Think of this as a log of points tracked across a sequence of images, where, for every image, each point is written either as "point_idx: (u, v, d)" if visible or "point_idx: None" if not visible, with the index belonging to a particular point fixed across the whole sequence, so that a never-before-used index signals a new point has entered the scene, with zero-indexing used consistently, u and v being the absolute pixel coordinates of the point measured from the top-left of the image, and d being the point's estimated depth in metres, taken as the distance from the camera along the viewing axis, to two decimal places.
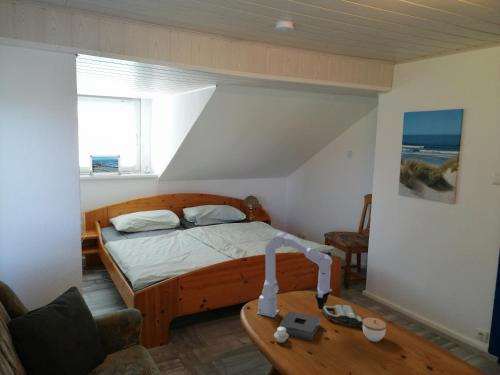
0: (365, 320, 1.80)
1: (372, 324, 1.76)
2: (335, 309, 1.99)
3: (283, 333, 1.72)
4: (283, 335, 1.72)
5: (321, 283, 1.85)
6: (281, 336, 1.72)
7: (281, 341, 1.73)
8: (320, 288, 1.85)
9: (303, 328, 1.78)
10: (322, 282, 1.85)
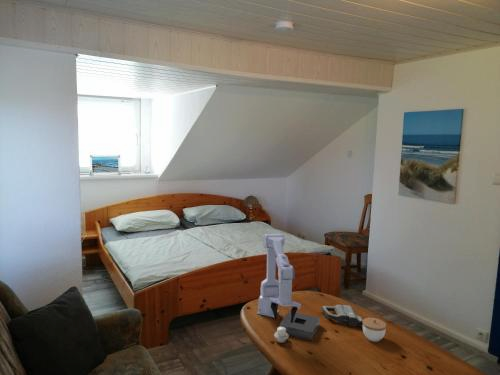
0: (365, 320, 1.80)
1: (372, 324, 1.76)
2: (336, 309, 2.00)
3: (283, 333, 1.72)
4: (283, 335, 1.72)
5: None
6: (281, 336, 1.72)
7: (281, 341, 1.73)
8: None
9: (303, 328, 1.78)
10: None
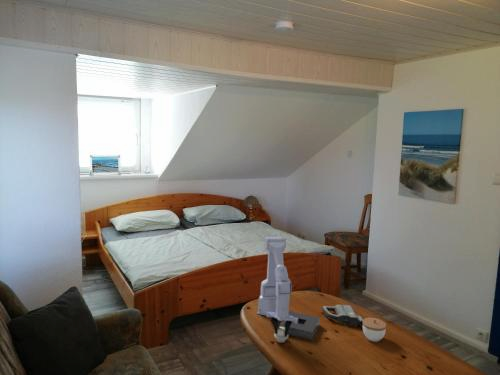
0: (365, 320, 1.80)
1: (372, 324, 1.76)
2: (336, 309, 2.00)
3: (283, 333, 1.72)
4: (283, 335, 1.72)
5: None
6: (281, 336, 1.72)
7: (281, 341, 1.73)
8: None
9: (303, 328, 1.78)
10: None
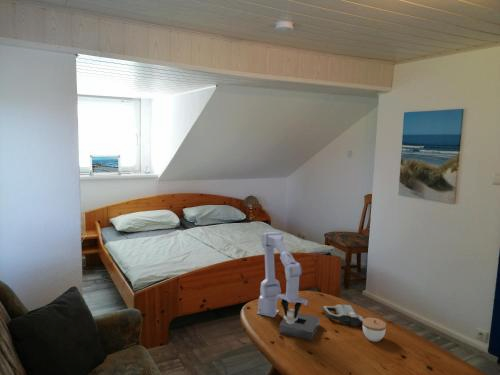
0: (365, 320, 1.80)
1: (372, 324, 1.76)
2: (337, 309, 2.00)
3: (292, 315, 1.77)
4: (292, 317, 1.77)
5: None
6: (291, 318, 1.77)
7: (290, 323, 1.77)
8: None
9: (303, 328, 1.78)
10: None
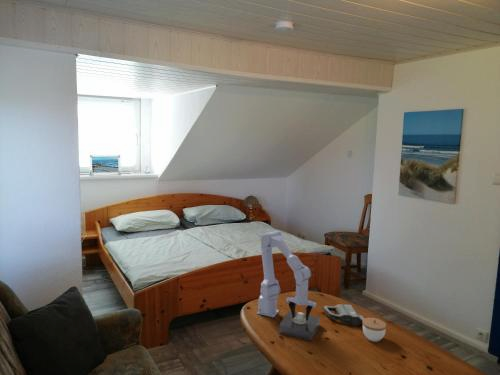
0: (365, 320, 1.80)
1: (372, 324, 1.76)
2: (337, 308, 2.00)
3: (302, 318, 1.83)
4: (302, 320, 1.83)
5: None
6: (300, 321, 1.83)
7: None
8: None
9: (303, 328, 1.78)
10: None
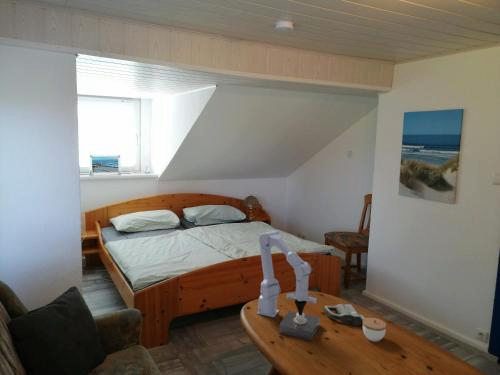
0: (365, 320, 1.80)
1: (372, 324, 1.76)
2: (338, 308, 2.00)
3: (302, 318, 1.83)
4: (302, 320, 1.83)
5: None
6: (300, 321, 1.83)
7: None
8: None
9: (303, 328, 1.78)
10: None
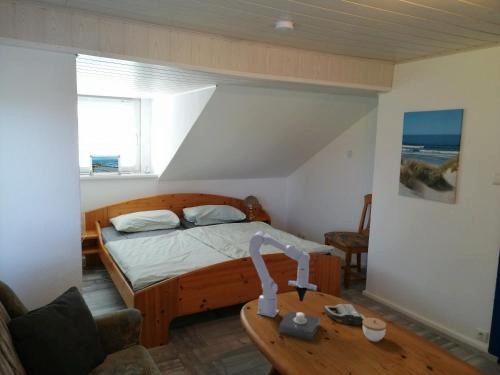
0: (365, 320, 1.80)
1: (372, 324, 1.76)
2: (338, 308, 2.00)
3: (302, 318, 1.83)
4: (302, 320, 1.83)
5: None
6: (300, 321, 1.83)
7: None
8: None
9: (303, 328, 1.78)
10: None
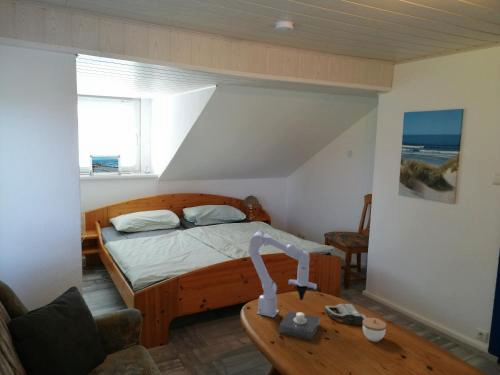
0: (365, 320, 1.80)
1: (372, 324, 1.76)
2: (339, 308, 2.00)
3: (302, 318, 1.83)
4: (302, 320, 1.83)
5: None
6: (300, 321, 1.83)
7: None
8: None
9: (303, 328, 1.78)
10: None
